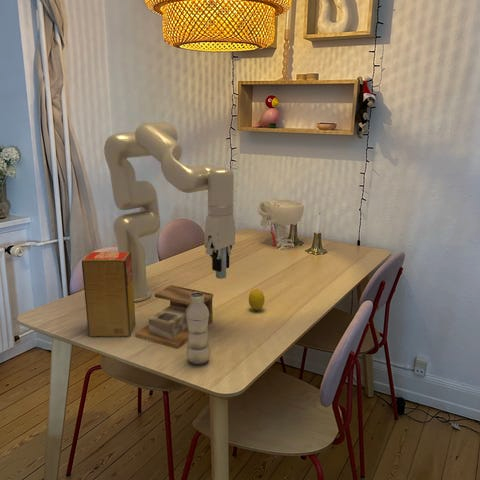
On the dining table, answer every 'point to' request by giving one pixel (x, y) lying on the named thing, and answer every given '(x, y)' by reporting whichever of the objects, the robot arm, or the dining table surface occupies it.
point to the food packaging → (109, 293)
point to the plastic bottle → (197, 329)
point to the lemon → (256, 299)
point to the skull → (280, 218)
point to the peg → (223, 272)
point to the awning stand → (173, 317)
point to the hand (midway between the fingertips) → (220, 268)
